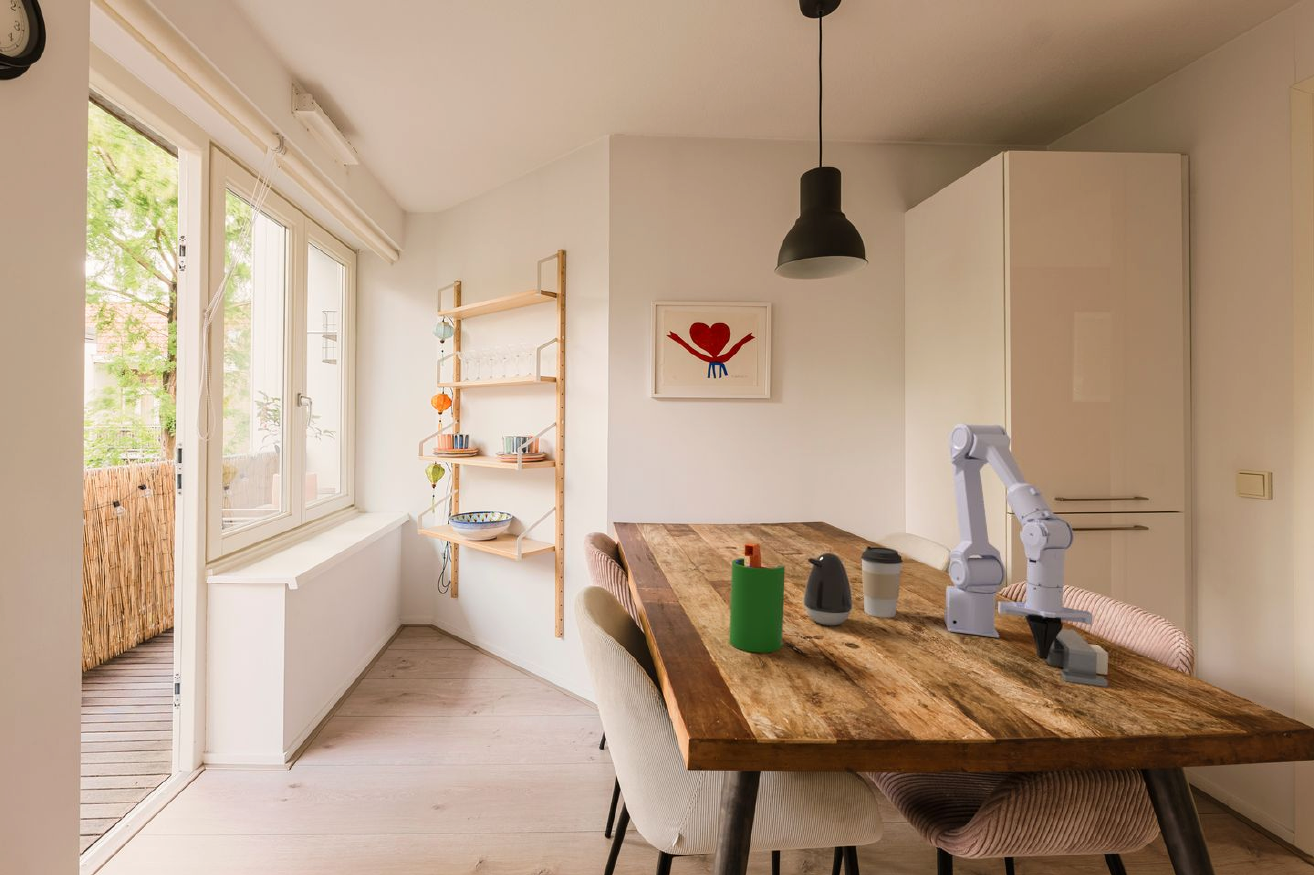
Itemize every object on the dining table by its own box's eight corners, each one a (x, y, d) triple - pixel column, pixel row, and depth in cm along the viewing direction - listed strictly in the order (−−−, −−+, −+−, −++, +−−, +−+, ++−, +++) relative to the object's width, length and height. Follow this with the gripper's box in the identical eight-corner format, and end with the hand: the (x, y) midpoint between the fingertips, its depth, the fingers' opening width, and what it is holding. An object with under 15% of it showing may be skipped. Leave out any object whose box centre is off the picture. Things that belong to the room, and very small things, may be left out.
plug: (1051, 667, 106) (1052, 646, 106) (1044, 659, 110) (1045, 639, 110) (1107, 674, 104) (1108, 653, 104) (1098, 666, 108) (1099, 645, 107)
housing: (1065, 680, 101) (1066, 652, 101) (1040, 648, 116) (1041, 623, 116) (1107, 687, 99) (1108, 657, 98) (1076, 653, 114) (1077, 627, 113)
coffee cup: (904, 611, 138) (906, 547, 137) (896, 621, 130) (899, 554, 130) (864, 604, 142) (866, 543, 142) (855, 614, 135) (857, 549, 135)
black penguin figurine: (793, 616, 132) (795, 549, 131) (831, 612, 135) (833, 547, 135) (821, 632, 122) (823, 559, 122) (861, 627, 126) (863, 556, 126)
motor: (785, 641, 116) (788, 540, 116) (775, 657, 108) (778, 548, 108) (736, 632, 120) (739, 535, 120) (722, 647, 112) (725, 543, 112)
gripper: (1004, 584, 107) (1001, 658, 107) (1099, 594, 102) (1096, 671, 102) (996, 575, 114) (994, 645, 114) (1086, 584, 109) (1083, 657, 109)
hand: (1042, 656), depth 109 cm, fingers closed
